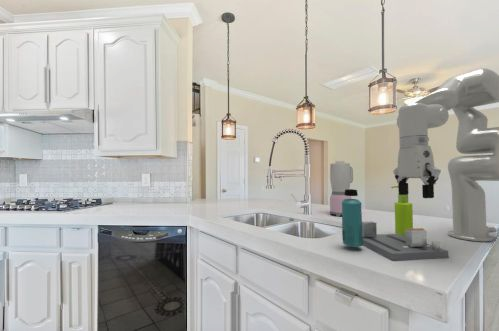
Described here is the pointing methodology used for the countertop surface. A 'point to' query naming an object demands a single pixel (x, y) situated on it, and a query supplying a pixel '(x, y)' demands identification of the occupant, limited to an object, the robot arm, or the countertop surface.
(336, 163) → the blender
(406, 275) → the countertop surface
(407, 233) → the fader tab
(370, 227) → the fader tab
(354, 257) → the countertop surface
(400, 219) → the soap dispenser
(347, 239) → the beverage bottle
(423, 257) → the console
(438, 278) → the countertop surface
